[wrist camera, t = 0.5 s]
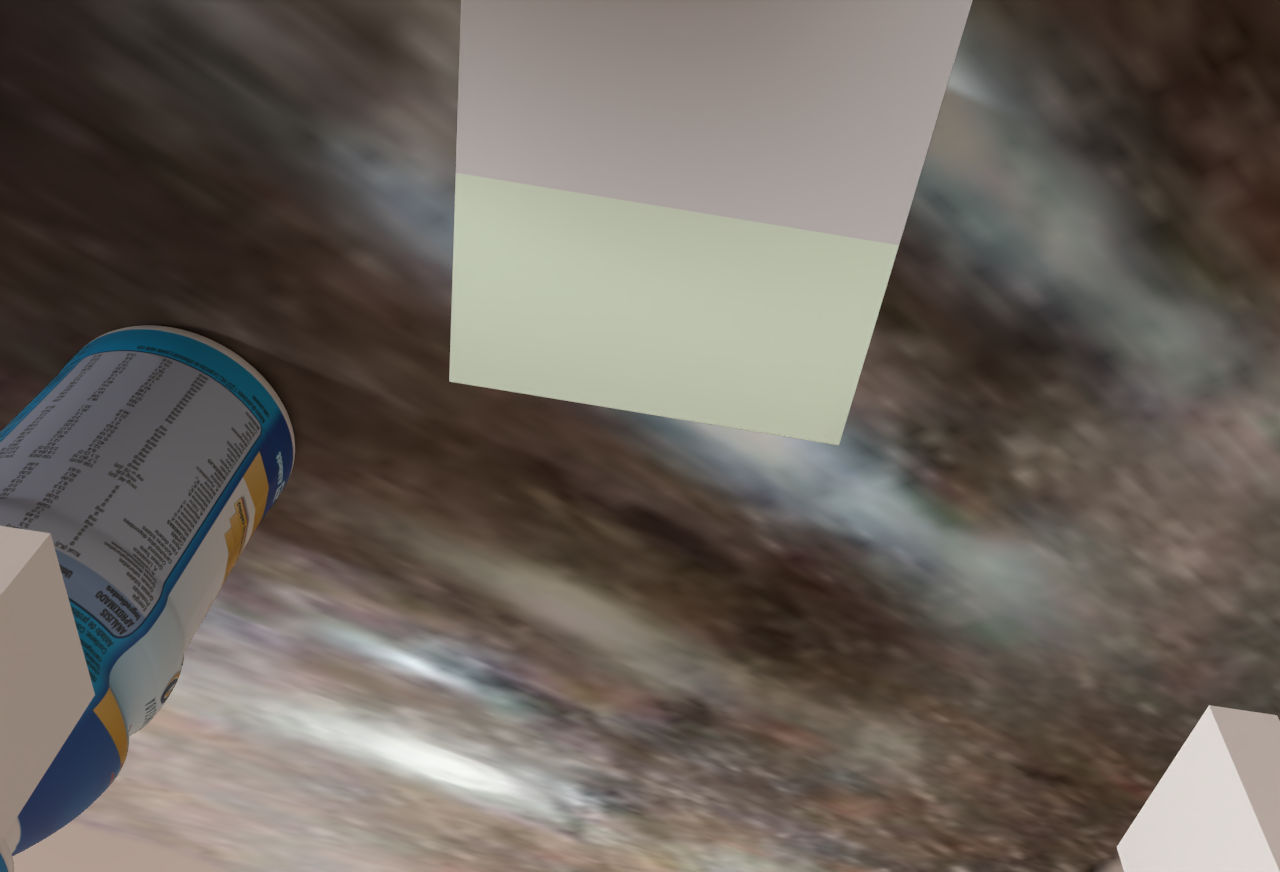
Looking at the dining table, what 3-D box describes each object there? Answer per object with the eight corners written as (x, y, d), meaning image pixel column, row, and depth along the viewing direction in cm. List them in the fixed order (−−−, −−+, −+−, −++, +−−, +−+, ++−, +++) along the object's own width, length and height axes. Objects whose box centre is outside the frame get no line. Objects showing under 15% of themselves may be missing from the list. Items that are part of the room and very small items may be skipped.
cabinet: (544, 192, 32) (448, 423, 23) (579, -226, 26) (465, -153, 16) (809, 235, 32) (826, 485, 23) (909, -172, 26) (993, -68, 16)
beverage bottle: (244, 295, 35) (-197, 834, 19) (340, 496, 40) (50, 1064, 24) (23, 332, 37) (-552, 855, 21) (140, 520, 42) (-256, 1065, 26)
